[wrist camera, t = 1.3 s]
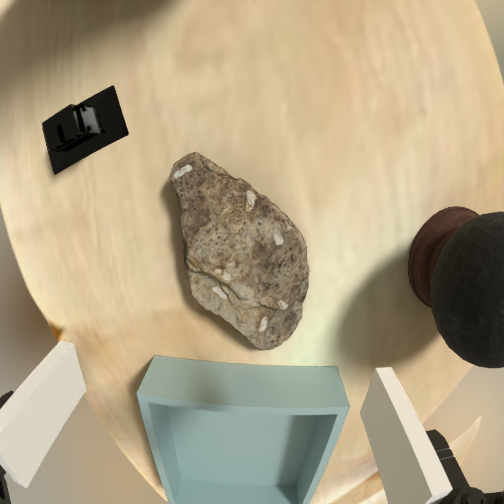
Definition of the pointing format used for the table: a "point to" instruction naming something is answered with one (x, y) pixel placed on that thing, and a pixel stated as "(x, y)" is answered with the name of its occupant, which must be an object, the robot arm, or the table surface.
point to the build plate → (84, 129)
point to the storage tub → (241, 429)
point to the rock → (240, 252)
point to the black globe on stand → (463, 281)
